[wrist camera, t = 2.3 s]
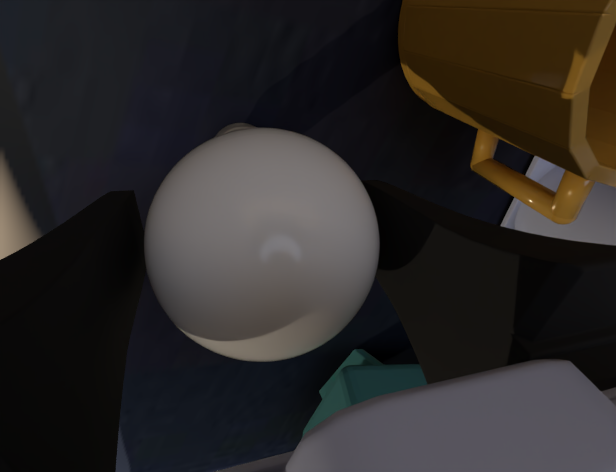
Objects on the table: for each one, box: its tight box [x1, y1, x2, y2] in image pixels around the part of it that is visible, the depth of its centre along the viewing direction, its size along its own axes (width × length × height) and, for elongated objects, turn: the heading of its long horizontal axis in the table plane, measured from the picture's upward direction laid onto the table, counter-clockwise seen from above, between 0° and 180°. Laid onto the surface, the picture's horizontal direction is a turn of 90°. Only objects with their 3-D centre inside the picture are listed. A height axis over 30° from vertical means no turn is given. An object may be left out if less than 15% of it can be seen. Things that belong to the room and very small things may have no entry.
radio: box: [302, 349, 427, 438], centre depth 29 cm, size 34×10×15 cm, turn 70°
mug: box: [398, 0, 616, 225], centre depth 12 cm, size 11×8×9 cm
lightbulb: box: [144, 123, 380, 362], centre depth 11 cm, size 6×6×11 cm
